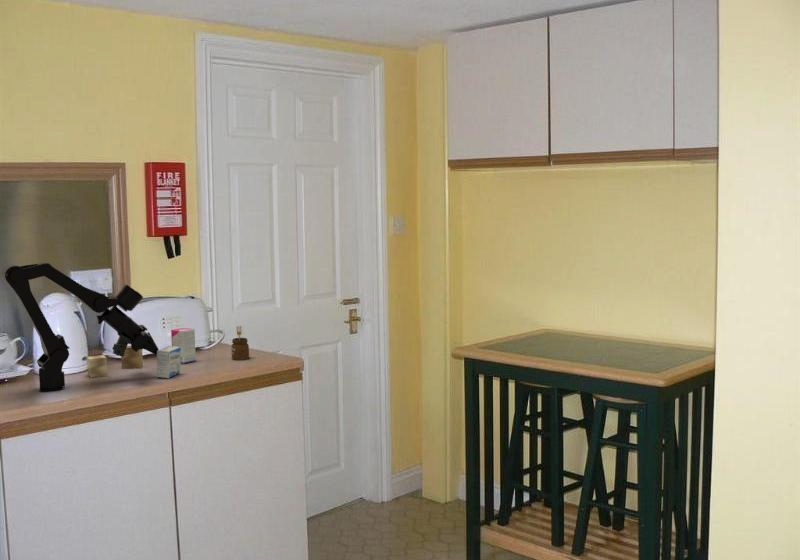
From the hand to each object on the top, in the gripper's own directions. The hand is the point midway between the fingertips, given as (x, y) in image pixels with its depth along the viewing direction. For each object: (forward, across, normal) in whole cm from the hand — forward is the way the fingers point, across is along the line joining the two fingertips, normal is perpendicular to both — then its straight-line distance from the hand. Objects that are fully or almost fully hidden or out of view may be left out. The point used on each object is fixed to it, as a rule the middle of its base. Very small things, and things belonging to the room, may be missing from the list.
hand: (159, 354), depth 273 cm
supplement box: (+12, -21, +1) cm, 24 cm away
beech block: (-8, -10, -18) cm, 22 cm away
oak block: (-1, -19, -10) cm, 22 cm away
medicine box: (+6, 0, -3) cm, 7 cm away
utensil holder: (+25, -19, +14) cm, 34 cm away
